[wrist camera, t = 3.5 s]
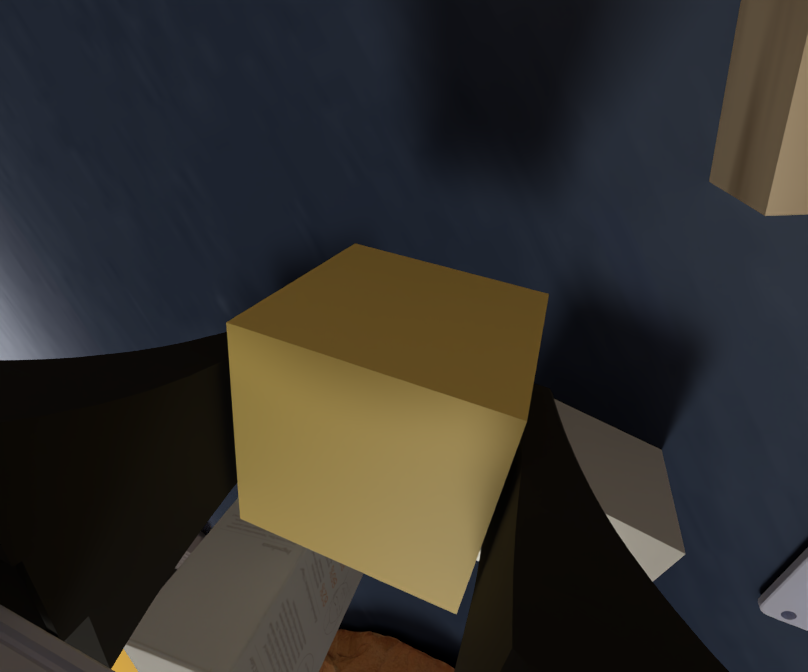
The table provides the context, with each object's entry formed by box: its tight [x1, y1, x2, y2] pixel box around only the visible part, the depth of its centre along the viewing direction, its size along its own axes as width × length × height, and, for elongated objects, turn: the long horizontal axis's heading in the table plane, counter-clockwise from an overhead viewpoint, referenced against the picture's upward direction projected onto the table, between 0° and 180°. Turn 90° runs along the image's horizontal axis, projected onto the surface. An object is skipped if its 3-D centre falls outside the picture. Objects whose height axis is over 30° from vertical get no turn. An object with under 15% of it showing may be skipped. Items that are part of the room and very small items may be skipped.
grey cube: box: [476, 399, 685, 582], centre depth 17 cm, size 5×5×5 cm
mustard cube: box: [226, 244, 549, 614], centre depth 10 cm, size 5×5×5 cm
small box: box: [124, 497, 363, 672], centre depth 23 cm, size 8×6×10 cm
